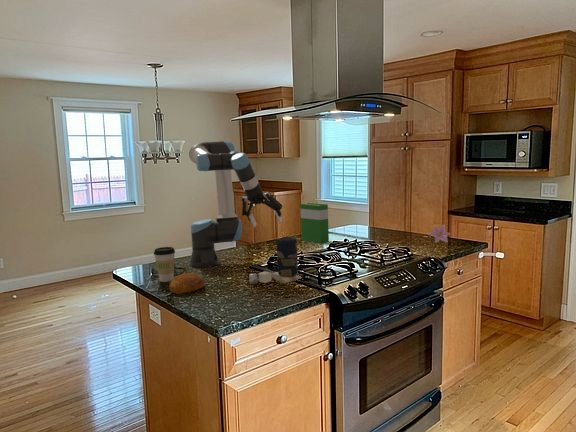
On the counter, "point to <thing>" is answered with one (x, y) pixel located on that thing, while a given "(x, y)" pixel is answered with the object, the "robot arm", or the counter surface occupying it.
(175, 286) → the bread loaf
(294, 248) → the canister
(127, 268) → the counter surface
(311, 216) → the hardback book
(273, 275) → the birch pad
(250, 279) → the metal slug
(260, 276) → the ceramic cube
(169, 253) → the coffee cup
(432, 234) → the lily
